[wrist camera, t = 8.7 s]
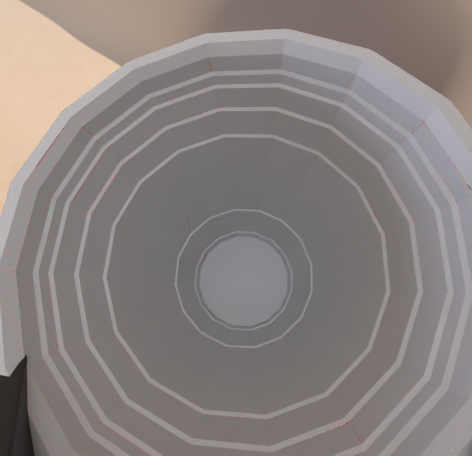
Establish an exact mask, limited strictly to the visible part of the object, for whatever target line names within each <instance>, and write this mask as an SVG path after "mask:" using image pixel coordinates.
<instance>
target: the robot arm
mask: <svg viewBox="0 0 472 456" xmlns="http://www.w3.org/2000/svg"><path fill="white" fill-rule="evenodd" d="M0 456H35V455H34V449H33V443H32V436H31V430H30V424H29V418H28V404H27V355H25V357H24V358H23V359H22V360H21V361H20V362H19V364H18V365H17V366H16V368H15V369H14V371H13V372H12V374H11V375H10V377H9V376H3V375H0Z"/></svg>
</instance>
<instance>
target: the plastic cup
mask: <svg viewBox="0 0 472 456" xmlns="http://www.w3.org/2000/svg"><path fill="white" fill-rule="evenodd" d="M25 355H27V404H28V418H29V424H30V430H31V436H32V443H33V449H34V455H35V456H472V128H471V127H470V126H469V125H468V123H467V122H466V121H465V119H464V118H463V117H462V115H461V114H460V112H459V111H458V110H457V109H456V107H455V106H454V104H453V103H452V102H451V101H450V100H449V99H447V98H445V97H444V96H442V95H441V94H439V93H438V92H436V91H435V90H433V89H432V88H430V87H428V86H427V85H425V84H424V83H422V82H421V81H419V80H418V79H416V78H414V77H413V76H411V75H410V74H408V73H406V72H405V71H404V70H402V69H400V68H399V67H397V66H396V65H394V64H393V63H391V62H390V61H388V60H386V59H385V58H383V57H382V56H380V55H378V54H377V53H375V52H374V51H372V50H370V49H365V48H362V47H358V46H354V45H350V44H346V43H342V42H338V41H334V40H330V39H326V38H322V37H318V36H314V35H310V34H306V33H302V32H298V31H294V30H290V29H275V30H258V31H241V32H224V33H206V34H203V35H200V36H197V37H194V38H192V39H189V40H186V41H183V42H181V43H178V44H175V45H172V46H170V47H167V48H164V49H161V50H159V51H156V52H153V53H150V54H148V55H145V56H142V57H140V58H137V59H134V60H131V61H129V62H127V63H126V64H125V65H123V66H122V67H121V68H119V69H118V70H117V71H115V72H114V73H113V74H111V75H110V76H109V77H107V78H106V79H105V80H103V81H102V82H101V83H99V84H98V85H97V86H95V87H94V88H93V89H91V90H90V91H89V92H87V93H86V94H85V95H83V96H82V97H81V98H79V99H78V100H77V101H75V102H74V103H73V104H71V105H70V106H69V107H67V108H66V109H65V110H63V111H62V112H61V114H60V115H59V117H58V118H57V119H56V121H55V122H54V124H53V125H52V126H51V128H50V129H49V131H48V132H47V133H46V135H45V136H44V137H43V139H42V140H41V142H40V143H39V144H38V146H37V147H36V149H35V150H34V151H33V153H32V154H31V156H30V157H29V158H28V160H27V161H26V162H25V164H24V165H23V167H22V168H21V169H20V171H19V172H18V174H17V175H16V176H15V178H14V179H13V180H12V182H11V185H10V188H9V191H8V195H7V198H6V201H5V204H4V207H3V211H2V214H1V217H0V375H3V376H9V377H10V375H11V374H12V372H13V371H14V369H15V368H16V366H17V365H18V364H19V362H20V361H21V360H22V359H23V358H24V357H25Z"/></svg>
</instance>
